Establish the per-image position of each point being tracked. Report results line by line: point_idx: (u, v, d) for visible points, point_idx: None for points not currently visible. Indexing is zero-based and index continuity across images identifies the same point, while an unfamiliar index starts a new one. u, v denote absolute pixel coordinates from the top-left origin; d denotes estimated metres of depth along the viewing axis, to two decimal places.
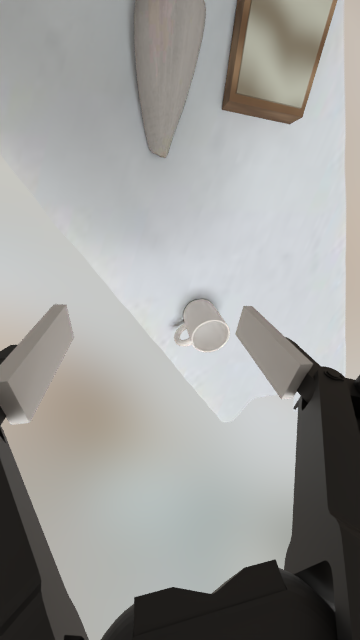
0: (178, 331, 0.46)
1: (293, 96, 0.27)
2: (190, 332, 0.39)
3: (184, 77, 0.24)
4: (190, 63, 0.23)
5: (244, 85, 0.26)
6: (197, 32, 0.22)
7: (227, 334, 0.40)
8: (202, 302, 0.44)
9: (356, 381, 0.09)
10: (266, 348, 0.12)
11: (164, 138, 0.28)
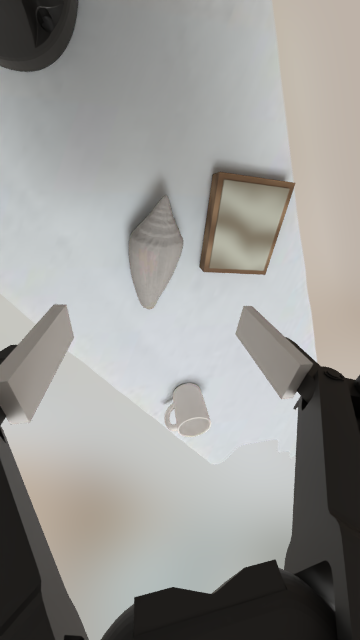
0: (168, 412, 0.52)
1: (256, 265, 0.34)
2: (177, 423, 0.46)
3: (167, 278, 0.31)
4: (171, 271, 0.30)
5: (215, 263, 0.33)
6: (176, 258, 0.29)
7: (209, 423, 0.47)
8: (188, 389, 0.50)
9: (356, 381, 0.09)
10: (266, 348, 0.12)
11: (152, 302, 0.35)
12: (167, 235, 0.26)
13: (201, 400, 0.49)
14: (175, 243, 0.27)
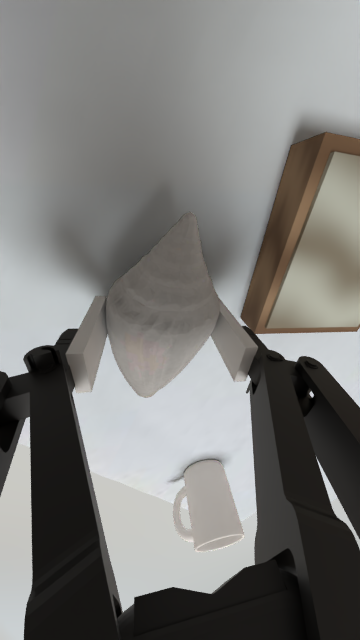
0: (178, 502, 0.37)
1: (348, 319, 0.19)
2: (193, 537, 0.30)
3: (183, 368, 0.16)
4: None
5: (278, 320, 0.17)
6: (206, 340, 0.14)
7: None
8: (208, 473, 0.35)
9: (297, 364, 0.10)
10: (225, 336, 0.13)
11: (153, 392, 0.20)
12: (192, 305, 0.11)
13: (227, 493, 0.33)
14: (208, 320, 0.12)
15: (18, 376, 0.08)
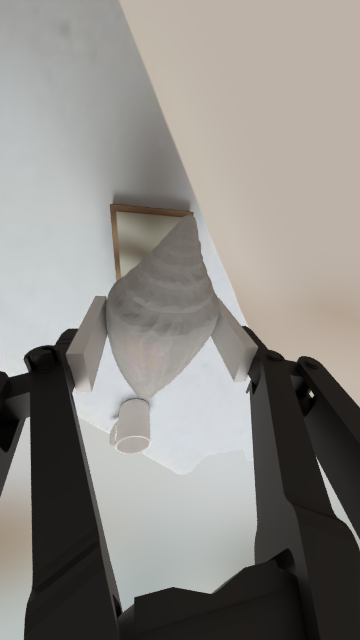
0: (114, 428, 0.52)
1: None
2: (116, 441, 0.46)
3: (182, 369, 0.16)
4: None
5: None
6: (205, 341, 0.14)
7: (149, 441, 0.47)
8: (132, 405, 0.50)
9: (297, 364, 0.10)
10: (225, 335, 0.13)
11: (153, 393, 0.20)
12: (191, 306, 0.11)
13: (143, 417, 0.49)
14: (207, 321, 0.12)
15: (18, 376, 0.08)
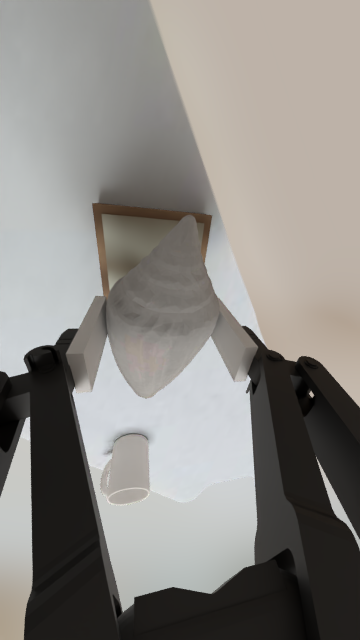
0: (106, 469, 0.44)
1: None
2: (107, 491, 0.38)
3: None
4: None
5: None
6: (205, 341, 0.14)
7: None
8: (128, 444, 0.42)
9: (297, 364, 0.10)
10: (225, 336, 0.13)
11: (153, 393, 0.20)
12: (192, 307, 0.11)
13: (141, 459, 0.41)
14: (207, 321, 0.12)
15: (18, 376, 0.08)
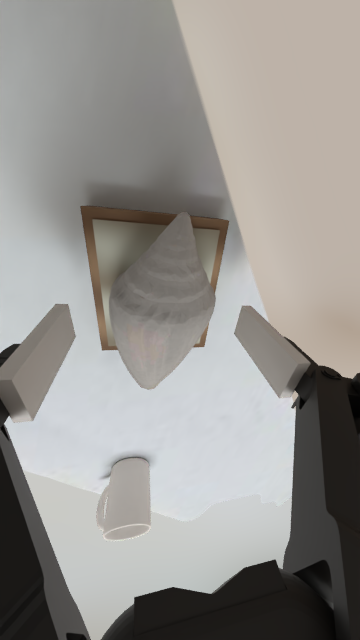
0: (103, 496, 0.40)
1: None
2: (104, 526, 0.34)
3: (182, 358, 0.17)
4: (191, 348, 0.16)
5: None
6: (202, 330, 0.15)
7: None
8: (127, 470, 0.38)
9: (353, 380, 0.10)
10: (264, 347, 0.12)
11: (155, 383, 0.21)
12: (188, 297, 0.12)
13: (141, 488, 0.37)
14: (203, 311, 0.13)
15: None
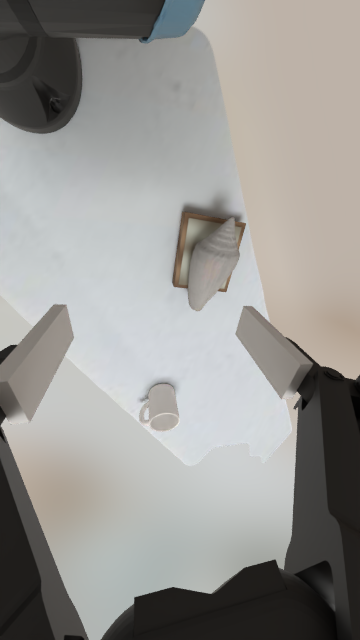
0: (143, 409, 0.57)
1: None
2: (149, 418, 0.51)
3: (221, 284, 0.36)
4: (226, 278, 0.35)
5: (183, 280, 0.40)
6: (233, 268, 0.34)
7: (178, 419, 0.53)
8: (162, 388, 0.56)
9: (356, 381, 0.09)
10: (266, 348, 0.12)
11: (202, 304, 0.40)
12: (231, 249, 0.31)
13: (173, 399, 0.55)
14: (236, 256, 0.32)
15: None
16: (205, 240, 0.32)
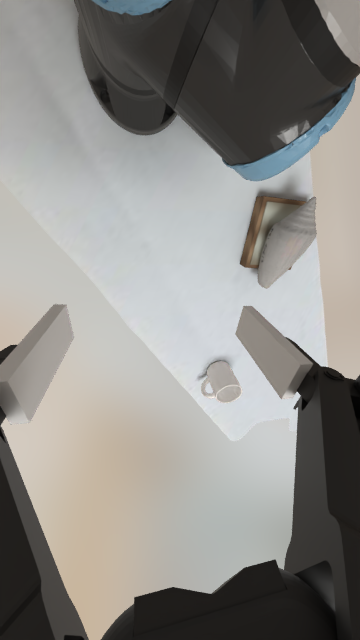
0: (204, 385, 0.63)
1: None
2: (215, 391, 0.57)
3: (296, 260, 0.40)
4: None
5: (254, 261, 0.44)
6: (310, 244, 0.38)
7: (240, 391, 0.58)
8: (221, 365, 0.61)
9: (356, 381, 0.09)
10: (266, 348, 0.12)
11: (273, 281, 0.44)
12: (313, 226, 0.35)
13: (233, 373, 0.60)
14: (316, 233, 0.36)
15: None
16: (286, 220, 0.36)
